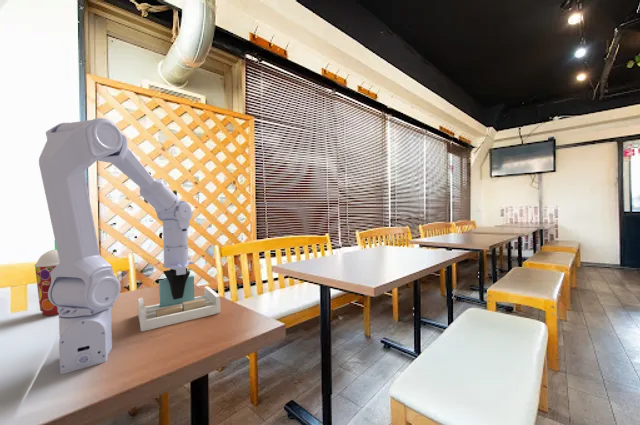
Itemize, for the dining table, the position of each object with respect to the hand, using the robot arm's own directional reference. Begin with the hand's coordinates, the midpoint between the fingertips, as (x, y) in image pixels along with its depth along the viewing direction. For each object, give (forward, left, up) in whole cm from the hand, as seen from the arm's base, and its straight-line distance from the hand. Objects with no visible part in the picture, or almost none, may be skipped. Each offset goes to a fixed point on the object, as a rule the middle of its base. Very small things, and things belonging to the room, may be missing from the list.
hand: (177, 297), depth 71 cm
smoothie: (+23, +26, -4) cm, 35 cm away
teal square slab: (0, 0, -3) cm, 3 cm away
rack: (-3, 0, -4) cm, 5 cm away
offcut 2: (-6, -3, -3) cm, 8 cm away
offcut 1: (-6, +3, -3) cm, 8 cm away
